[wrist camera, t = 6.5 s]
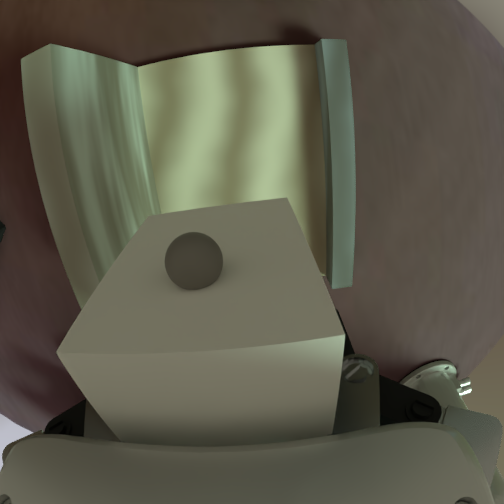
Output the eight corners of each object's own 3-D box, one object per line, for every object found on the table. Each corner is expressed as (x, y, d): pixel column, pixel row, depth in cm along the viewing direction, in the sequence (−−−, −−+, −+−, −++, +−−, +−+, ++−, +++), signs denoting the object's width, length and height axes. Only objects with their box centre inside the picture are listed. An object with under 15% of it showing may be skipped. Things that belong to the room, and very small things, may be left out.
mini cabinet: (284, 169, 10) (348, 279, 4) (297, 373, 15) (318, 500, 8) (142, 189, 10) (31, 308, 4) (199, 381, 15) (186, 506, 9)
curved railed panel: (334, 47, 22) (414, 2, 9) (342, 268, 32) (393, 369, 19) (121, 73, 22) (20, 58, 9) (163, 286, 32) (124, 392, 19)
